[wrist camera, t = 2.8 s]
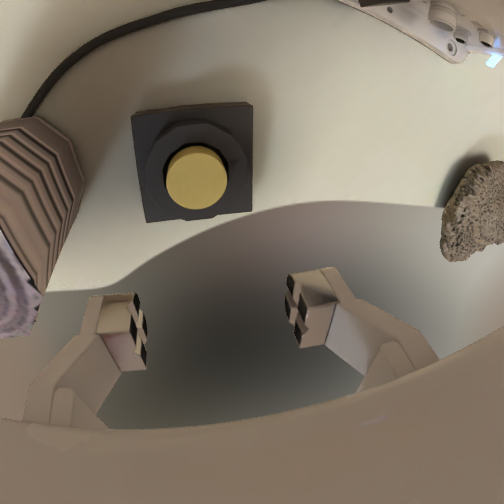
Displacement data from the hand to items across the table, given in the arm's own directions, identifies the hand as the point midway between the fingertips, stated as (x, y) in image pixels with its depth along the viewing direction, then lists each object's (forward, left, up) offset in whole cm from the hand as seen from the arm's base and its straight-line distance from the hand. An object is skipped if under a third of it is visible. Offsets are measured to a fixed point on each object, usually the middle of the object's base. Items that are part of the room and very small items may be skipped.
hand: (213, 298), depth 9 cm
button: (0, 0, -11) cm, 11 cm away
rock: (+34, -6, -10) cm, 36 cm away
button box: (0, 0, -15) cm, 15 cm away
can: (-14, +1, -15) cm, 21 cm away
